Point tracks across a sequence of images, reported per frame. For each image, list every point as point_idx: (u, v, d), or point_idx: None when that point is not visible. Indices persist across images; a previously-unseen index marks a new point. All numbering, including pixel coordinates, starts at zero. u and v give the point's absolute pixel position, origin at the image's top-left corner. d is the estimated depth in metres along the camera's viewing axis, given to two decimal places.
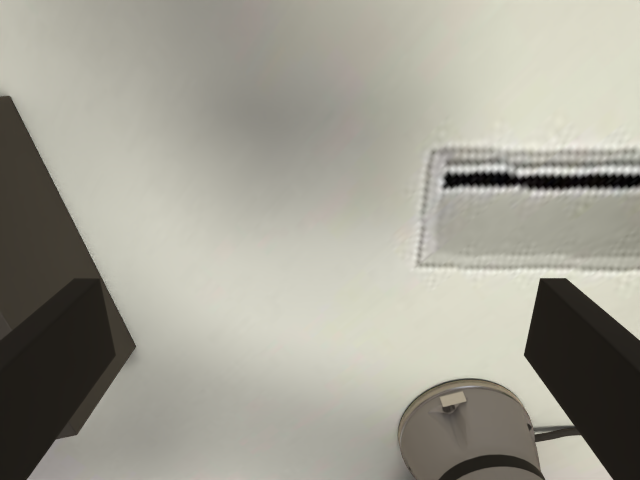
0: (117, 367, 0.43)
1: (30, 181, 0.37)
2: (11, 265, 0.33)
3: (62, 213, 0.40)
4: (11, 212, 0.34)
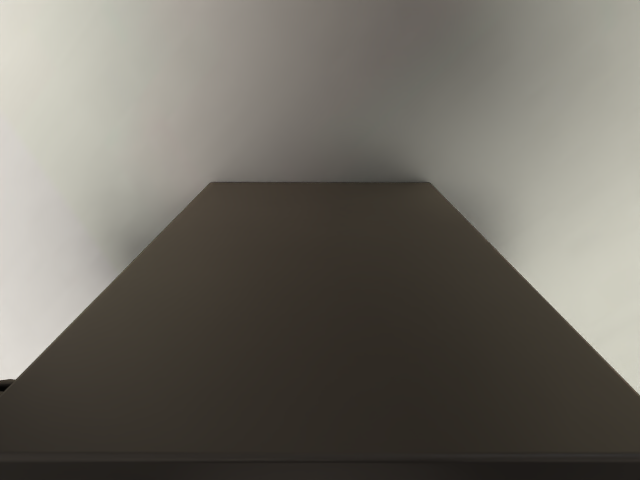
0: None
1: None
2: None
3: None
4: None
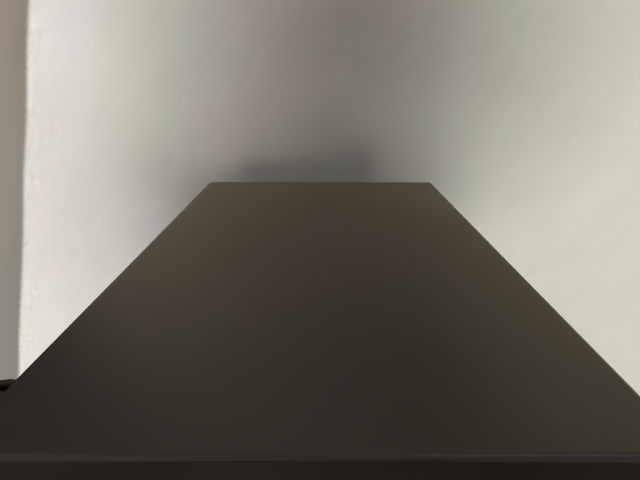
0: None
1: None
2: None
3: None
4: None
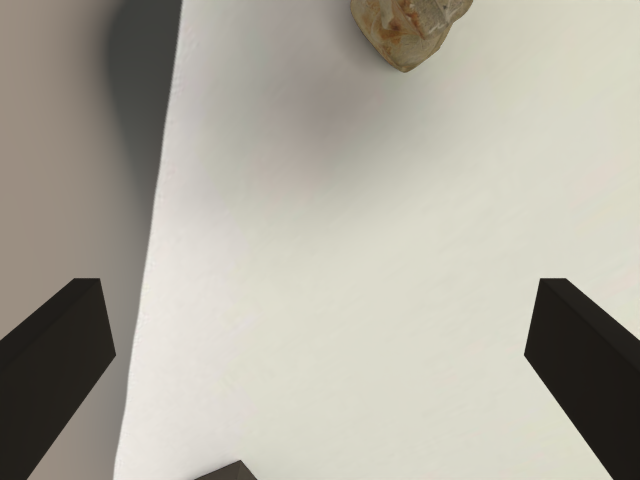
0: None
1: None
2: None
3: None
4: None
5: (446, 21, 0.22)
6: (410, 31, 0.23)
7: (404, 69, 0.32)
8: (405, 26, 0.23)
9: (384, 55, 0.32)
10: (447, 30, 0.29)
